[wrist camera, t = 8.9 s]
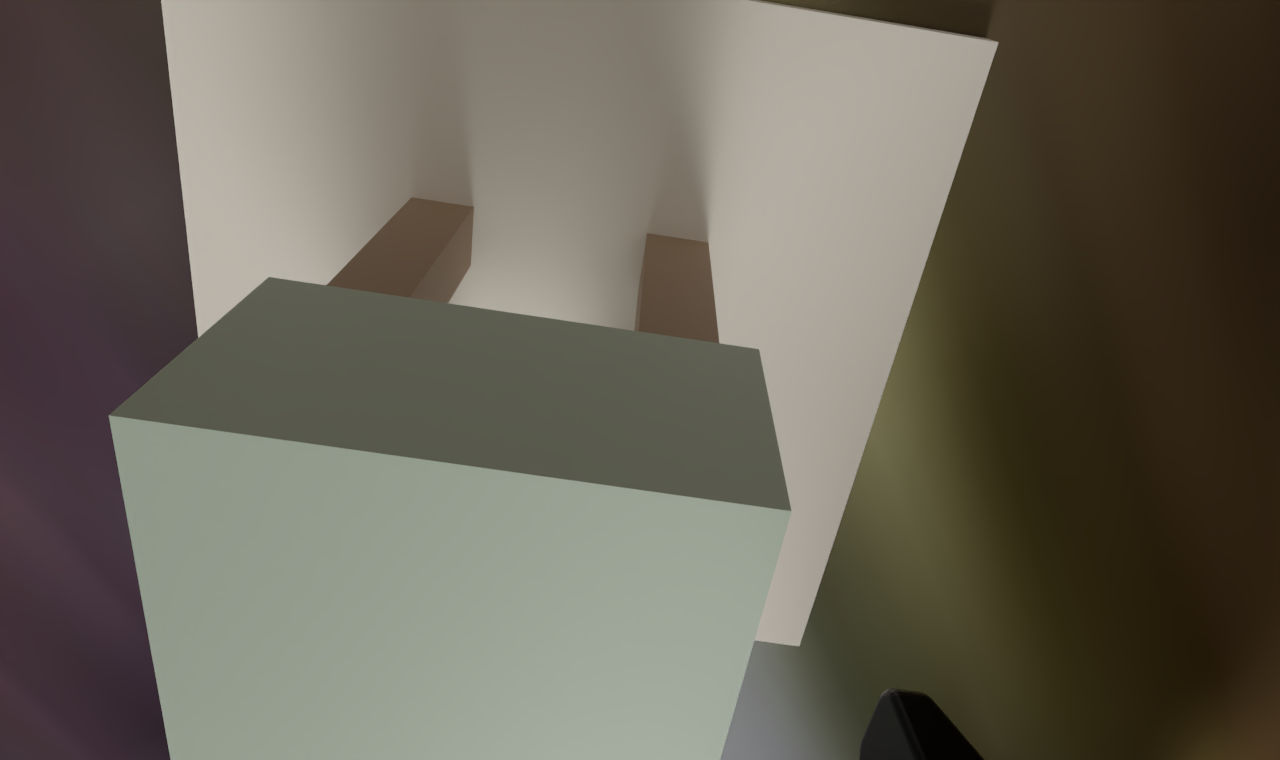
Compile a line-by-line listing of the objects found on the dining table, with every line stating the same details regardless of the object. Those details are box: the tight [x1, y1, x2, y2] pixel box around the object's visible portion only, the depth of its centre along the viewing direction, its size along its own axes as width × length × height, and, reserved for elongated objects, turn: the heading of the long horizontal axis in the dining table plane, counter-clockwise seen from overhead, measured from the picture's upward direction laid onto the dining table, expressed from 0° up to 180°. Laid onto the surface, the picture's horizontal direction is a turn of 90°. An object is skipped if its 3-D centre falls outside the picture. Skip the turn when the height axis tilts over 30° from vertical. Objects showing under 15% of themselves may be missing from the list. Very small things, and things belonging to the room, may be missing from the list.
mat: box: [161, 0, 998, 646], centre depth 15 cm, size 12×12×1 cm
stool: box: [109, 197, 791, 760], centre depth 11 cm, size 6×6×8 cm
